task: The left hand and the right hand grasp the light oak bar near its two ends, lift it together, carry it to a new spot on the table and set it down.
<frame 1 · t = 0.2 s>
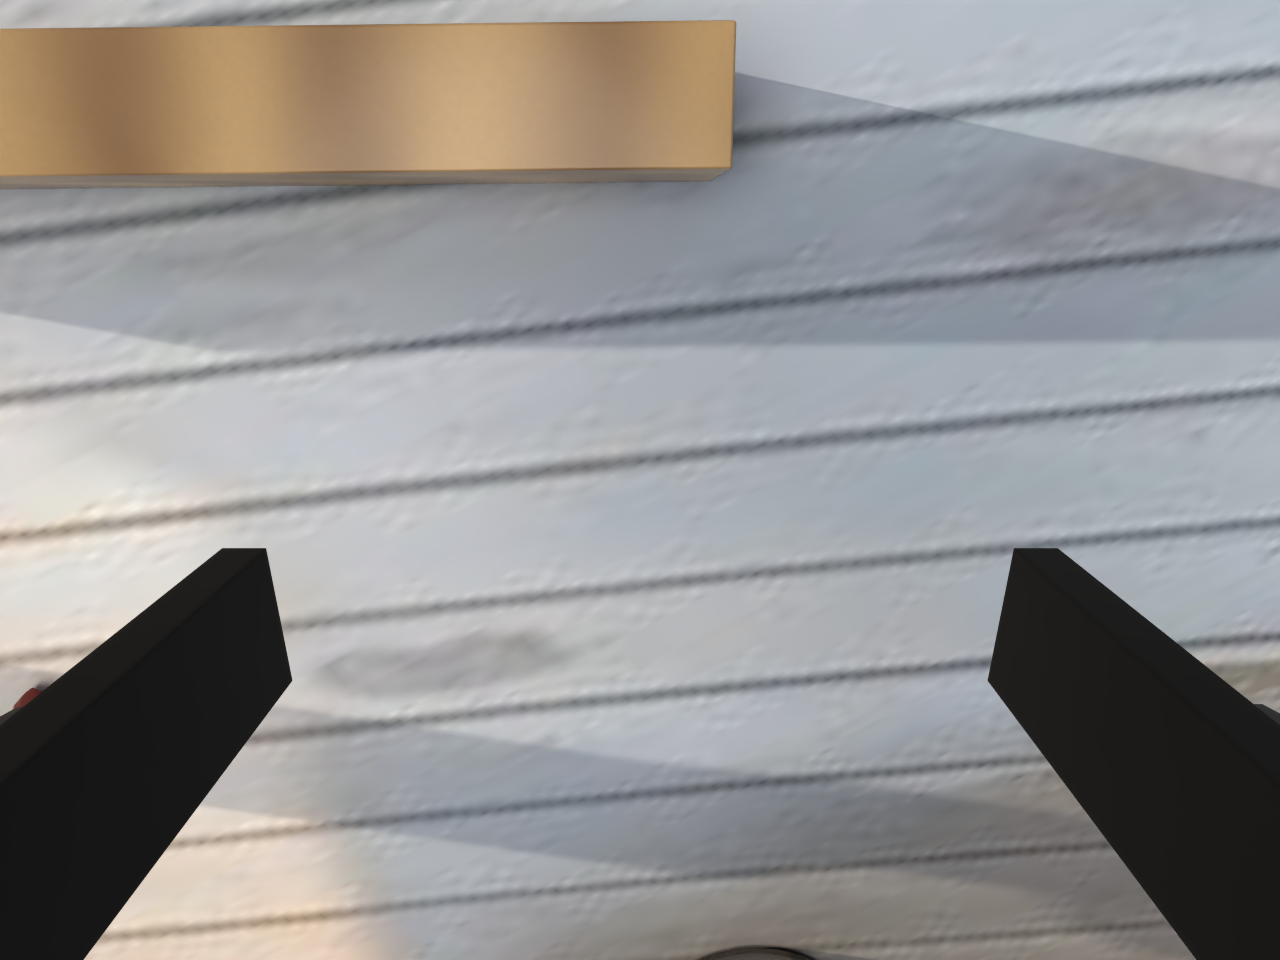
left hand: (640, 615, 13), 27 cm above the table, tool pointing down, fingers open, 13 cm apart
bar: (16, 133, 35), on the table
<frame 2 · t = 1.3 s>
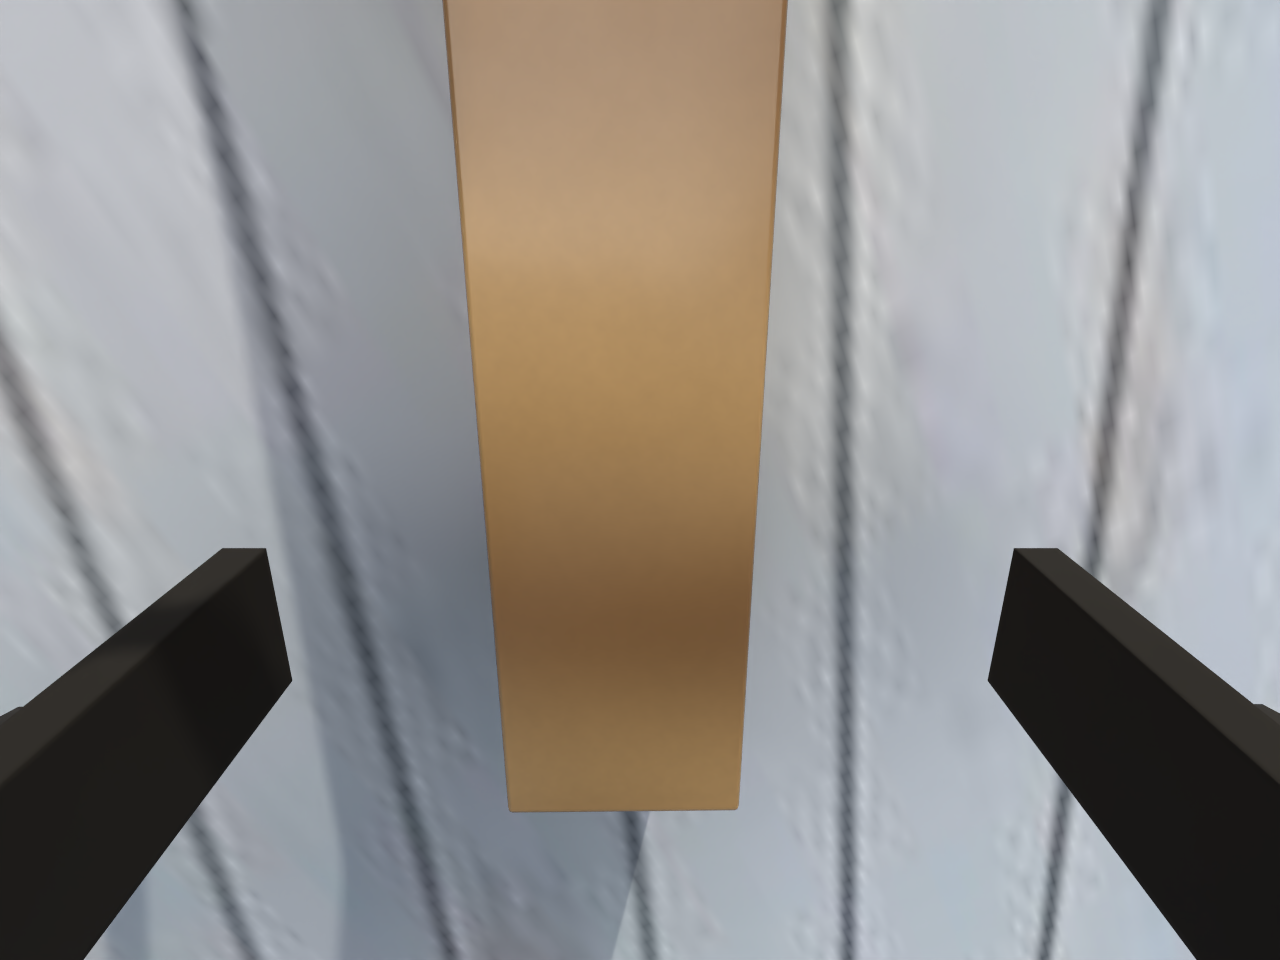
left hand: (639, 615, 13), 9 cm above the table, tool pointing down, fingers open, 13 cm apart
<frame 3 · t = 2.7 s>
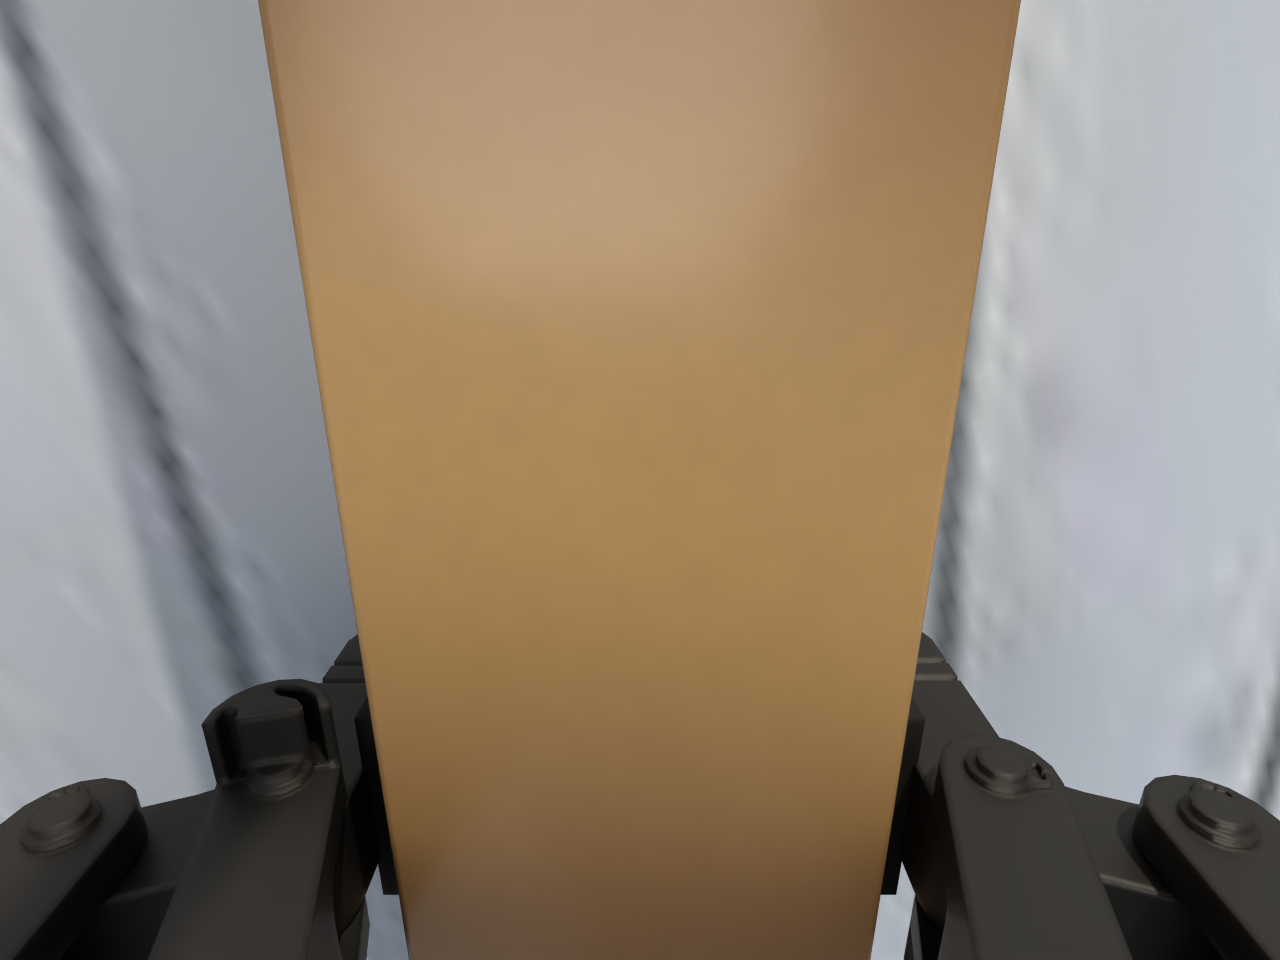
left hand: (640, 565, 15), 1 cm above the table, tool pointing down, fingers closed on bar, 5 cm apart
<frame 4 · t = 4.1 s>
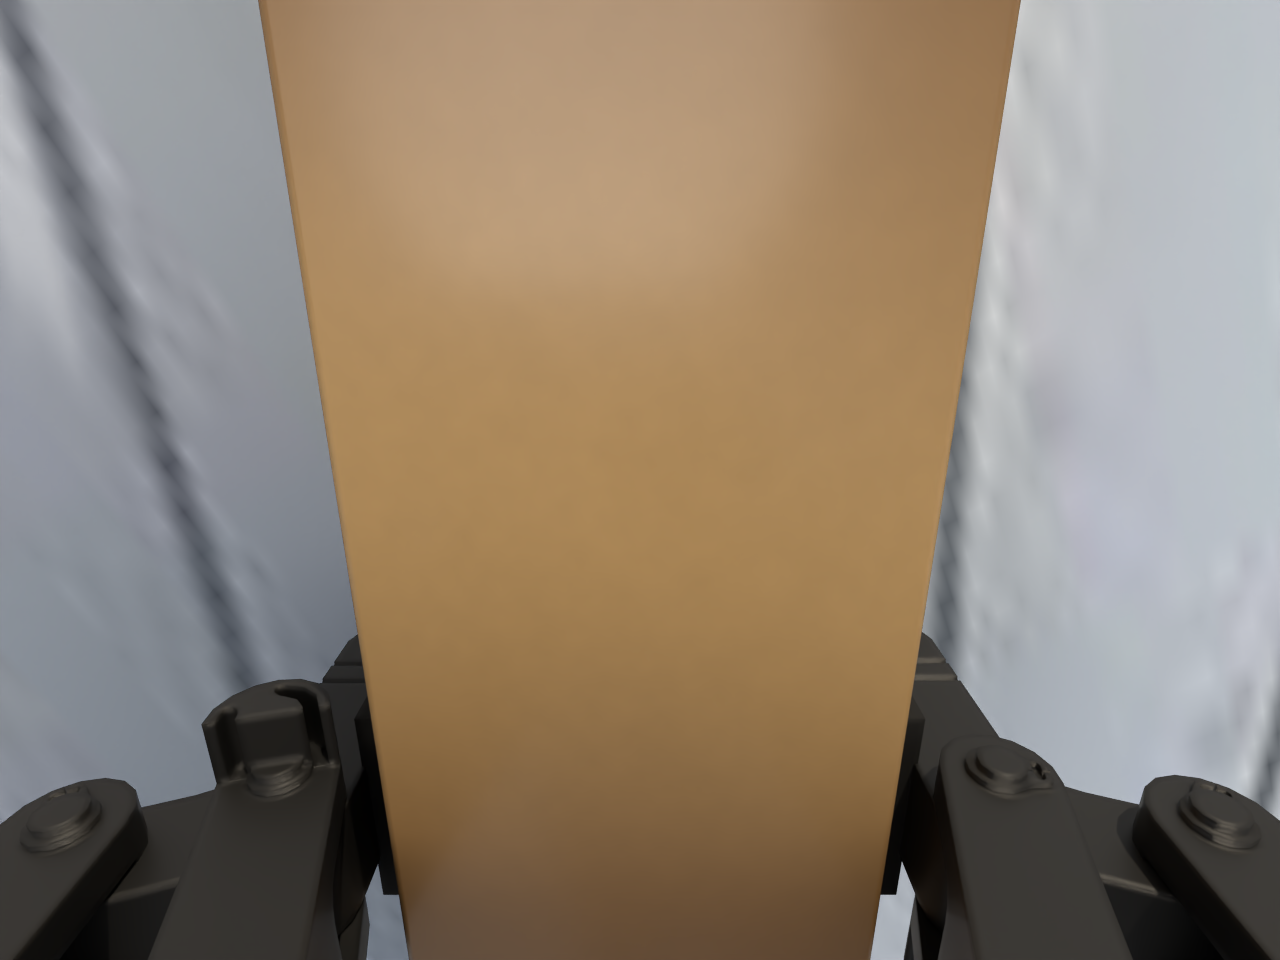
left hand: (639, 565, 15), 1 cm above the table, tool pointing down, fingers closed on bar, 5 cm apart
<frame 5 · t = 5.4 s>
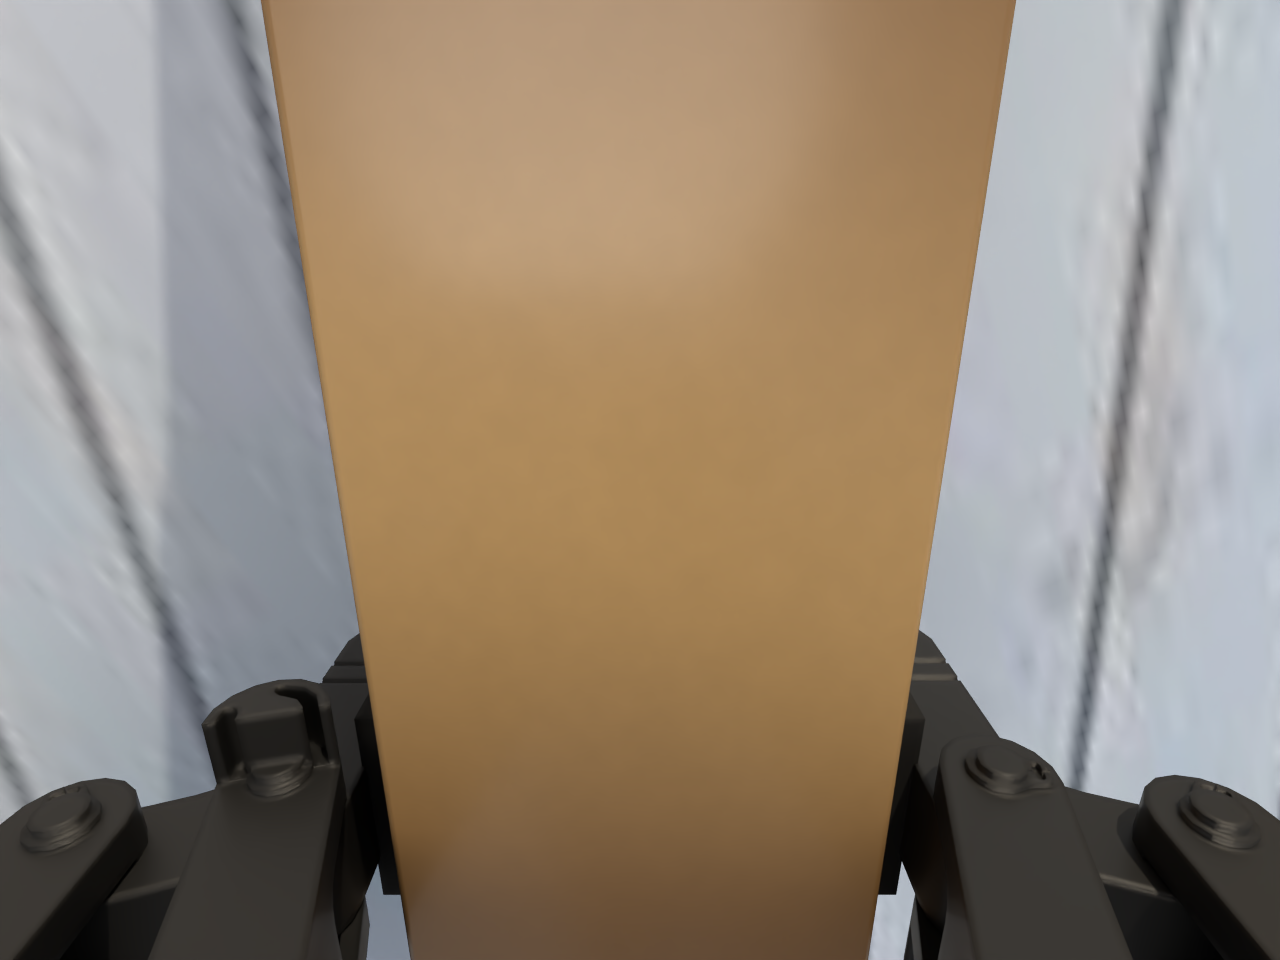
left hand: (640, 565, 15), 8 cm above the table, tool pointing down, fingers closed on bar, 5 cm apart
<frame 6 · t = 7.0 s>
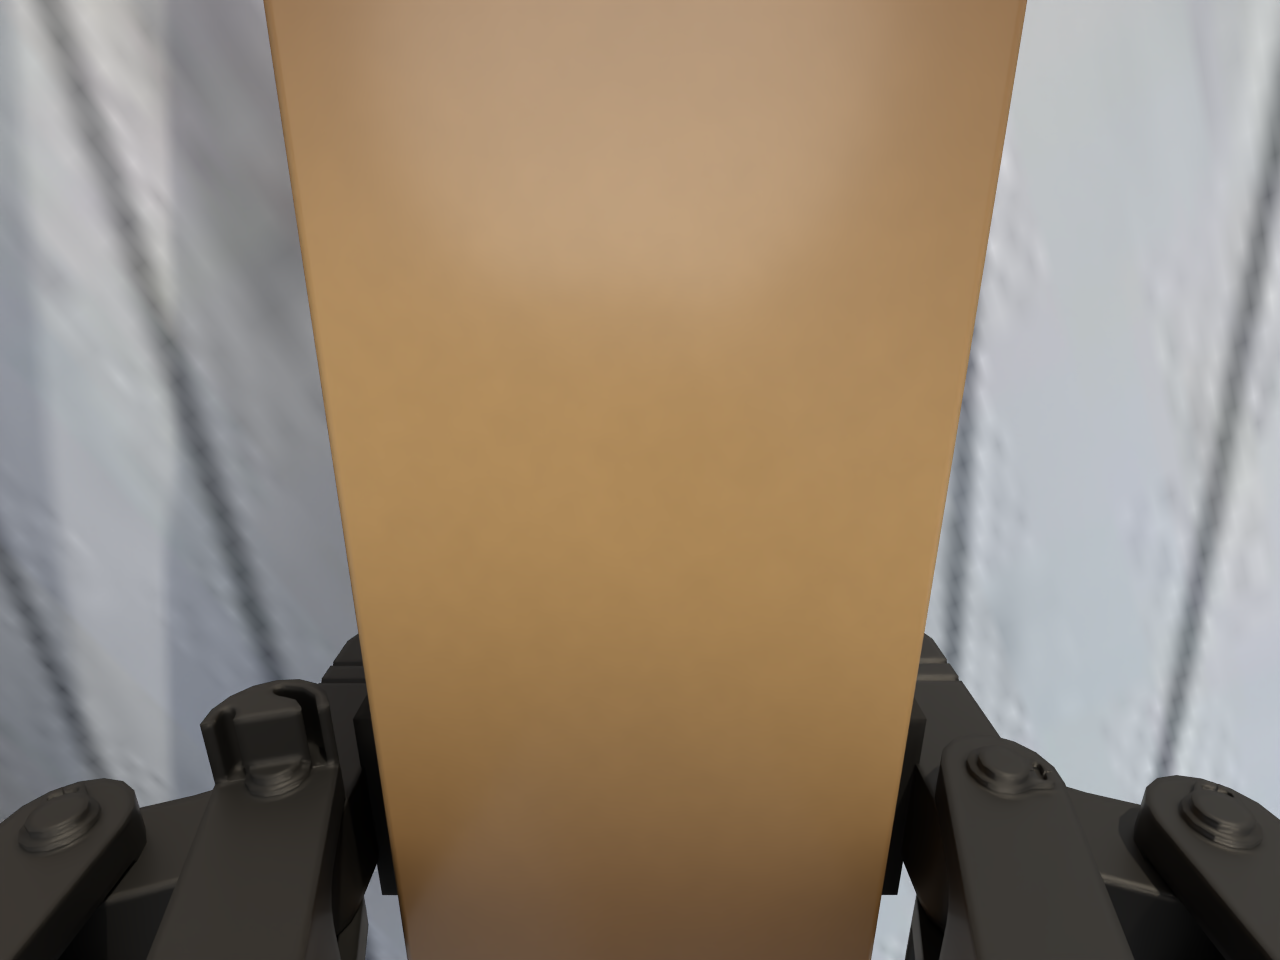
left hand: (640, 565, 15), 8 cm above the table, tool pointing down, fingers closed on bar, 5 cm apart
when the left hand's fingers open (2 cm above the table, at t = 8.4 s): bar drops 2 cm, on the table.
when the right hand's fingers open (5 cm above the table, at t = 8.6 s): bar stays where it is, on the table.
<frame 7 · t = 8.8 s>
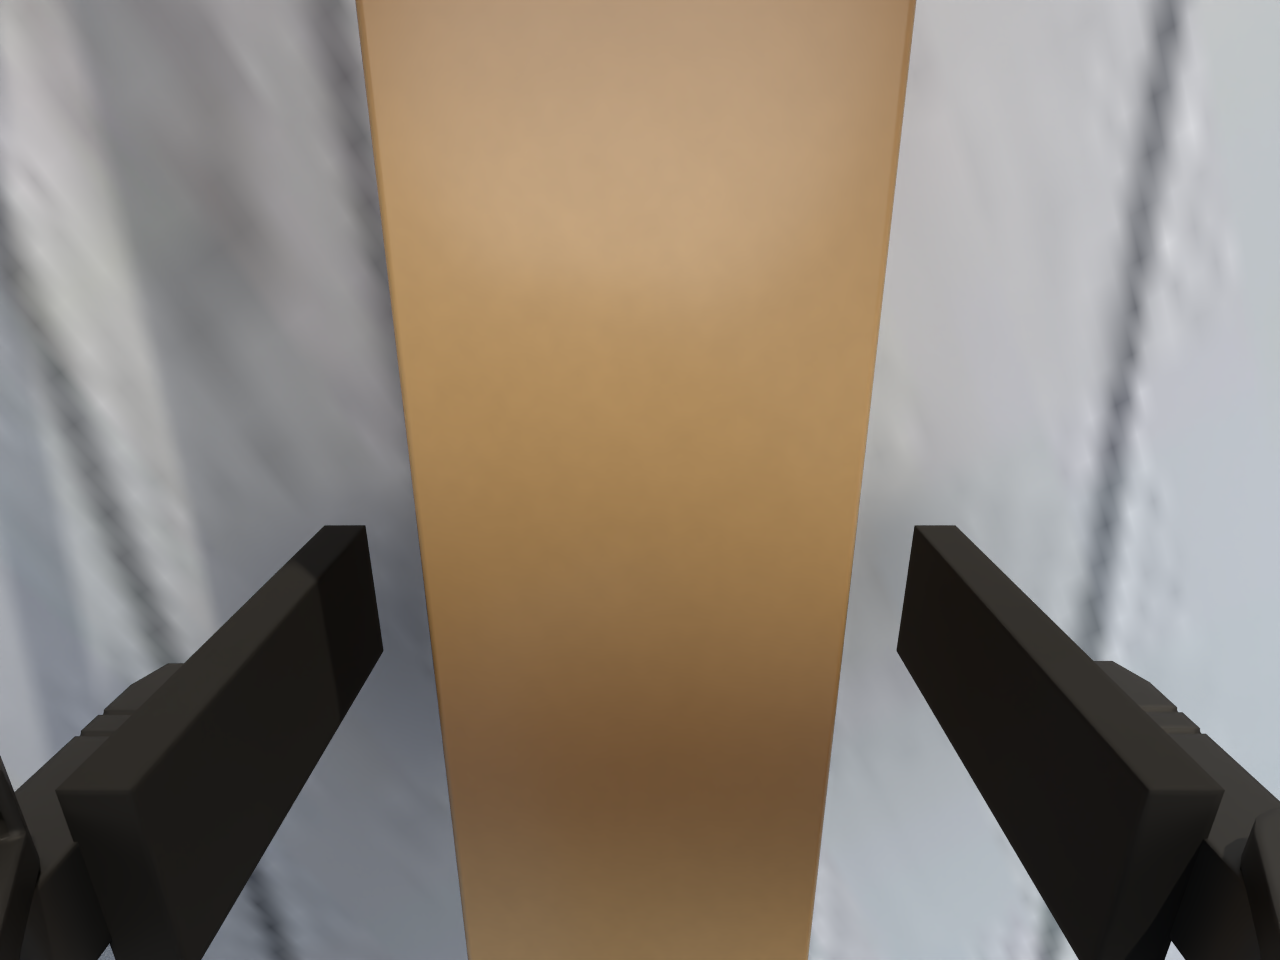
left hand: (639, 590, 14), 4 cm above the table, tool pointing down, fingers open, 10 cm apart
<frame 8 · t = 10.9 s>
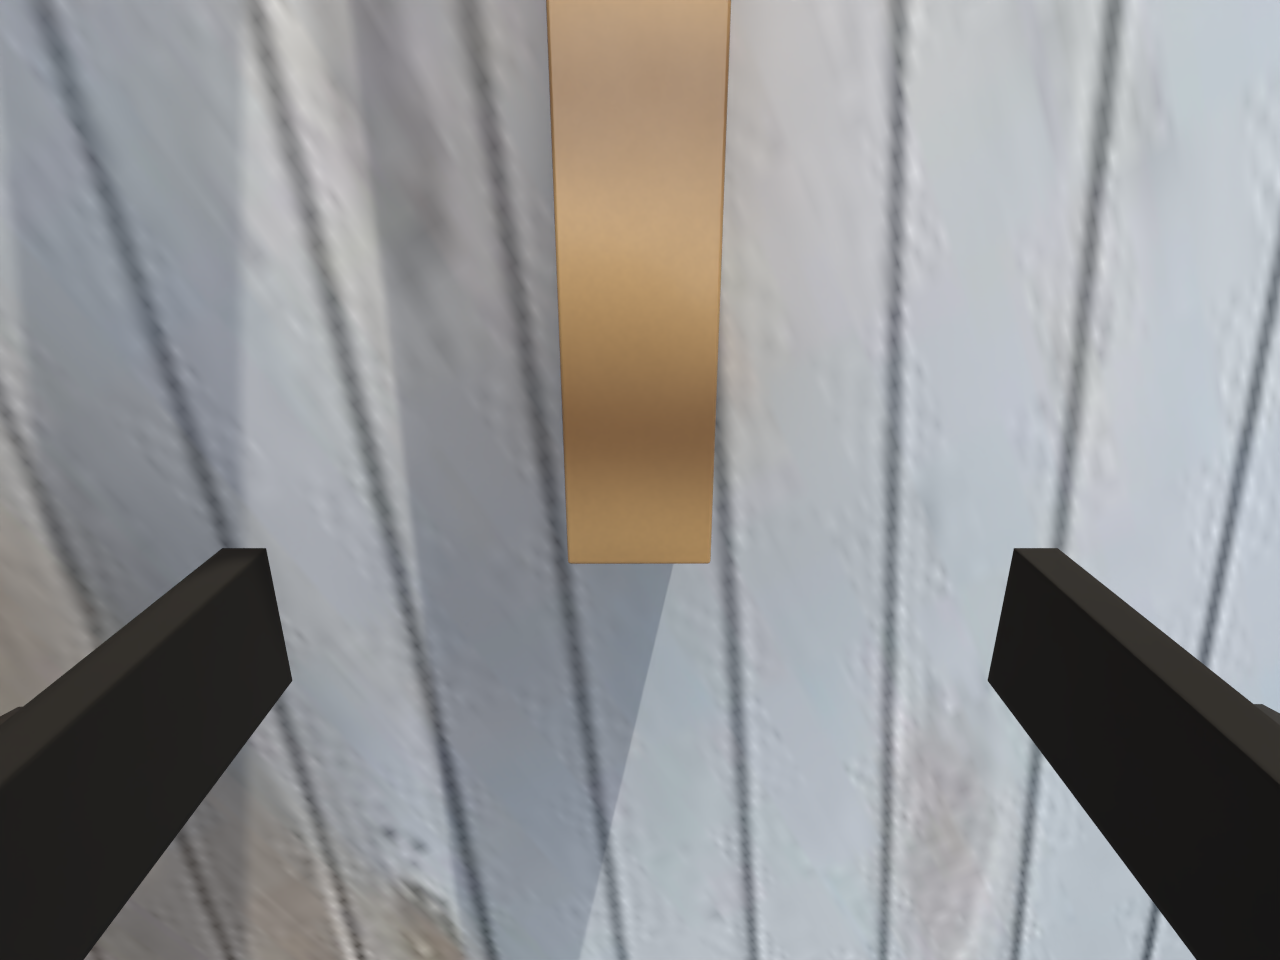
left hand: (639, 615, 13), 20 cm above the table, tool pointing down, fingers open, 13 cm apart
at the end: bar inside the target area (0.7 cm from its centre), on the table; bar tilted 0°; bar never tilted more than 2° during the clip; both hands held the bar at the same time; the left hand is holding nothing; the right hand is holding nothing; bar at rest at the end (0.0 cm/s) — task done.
